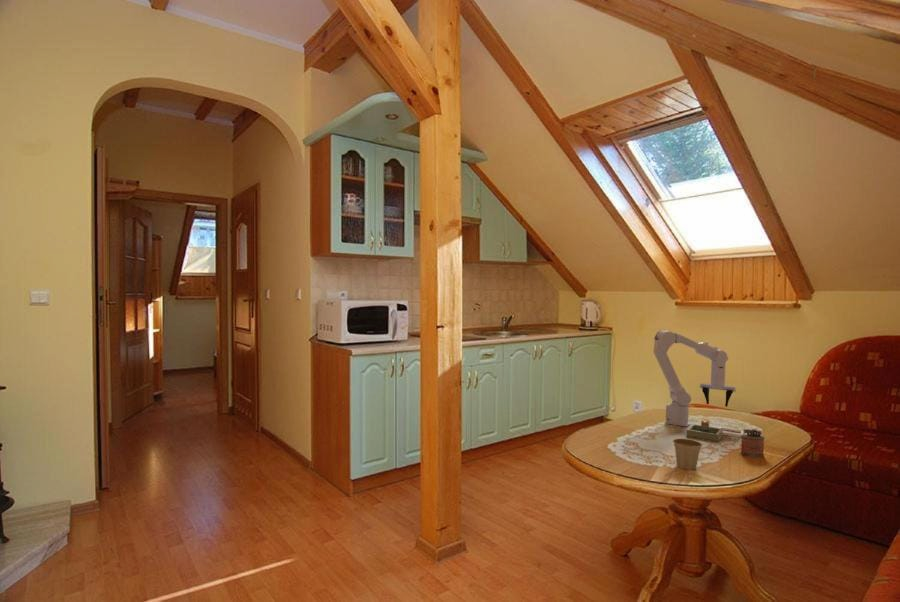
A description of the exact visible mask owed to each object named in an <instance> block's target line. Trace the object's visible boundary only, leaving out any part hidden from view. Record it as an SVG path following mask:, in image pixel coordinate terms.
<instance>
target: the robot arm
mask: <svg viewBox="0 0 900 602" xmlns="http://www.w3.org/2000/svg"><path fill="white" fill-rule="evenodd" d="M653 339H654V342H653V343H654V344H653V354H654V356H655V359H656V361H657V363H658V365H659V366H660V367H659V368H660V370H661V371H662V373H663V376H664V379H665V380H666V382H667V384H668V386H669V388H668V390H669V393H670V395H669V396H670V397H669V398H670V399H671V400H672V401H671V403H667V404H666V407H665V422H664V424H667V425H674V426H681V427H688V426H689V425H690V424H691V422H690V421H689V411H690V407H689V405H690V403H691V402H692V396H691V395H690V393H688V392H687V390H686V389H685V388H684V386H683V385H682V383H681V381H680V379H679V377H678V374H677V373H676V371H675V369H674V367H673V364H672V362H671V360H670V357H669V356H668V351H669V349H670V348H671V347H672V346H673V345H674V344H681V345H684V346H687V347H689V348H691V349H693V350H694V351H695V353H696V354H698V355H699V356H702V357H704V358H707V359H709V360H710V361H711V366H710V369H711V371H710V383H702V382H701V383H699V389H701V390H702V392H703V395H704V398H705V401H706V403H705V404H706V405H710V390H716V391H717V390H719V391H725V404H724V405H725V406H724V407H725V408H728V405H729V401H730V399H731V396H732V395H733V393H736V389H737V387H736V386H731V385H726V383H725V382H726V363H727V361H728V360H729V356H728V354H727V353H726V351H725V350H721V349H719V347H717V346H712V345H711V344H709V343H708V342H707V341H701V342H697V341H694V340H693V339H690V338H688V337H686V336H685V335H683V334H680V333H677V332H676V333H675V332H673V331H670V330H666V329H661V330H658V331H657V332H656V334H655V335H654V337H653Z"/></svg>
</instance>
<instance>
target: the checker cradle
mask: <svg viewBox="0 0 900 602" xmlns="http://www.w3.org/2000/svg"><path fill="white" fill-rule="evenodd" d="M718 428H720V429H723V436H727V435H728V436H729V437H734V438H740V439H742V437H741V435H745V433H744V432H743V431H744V429H738V428H731V427H725V426H718ZM727 430H729V431H727ZM733 431H734V432H733ZM732 432H733V433H732ZM739 432H740V433H739ZM737 433H739V434H737Z"/></svg>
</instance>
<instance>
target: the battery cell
mask: <svg viewBox="0 0 900 602" xmlns="http://www.w3.org/2000/svg"><path fill="white" fill-rule="evenodd" d="M700 425H701V432H707V433H709V427H710V421H709V420H707V419H701V420H700Z"/></svg>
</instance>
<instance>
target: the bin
mask: <svg viewBox="0 0 900 602" xmlns="http://www.w3.org/2000/svg"><path fill="white" fill-rule="evenodd" d="M723 432H724V430H723V429H720V428H719V427H712V426H709V433H707V432H701V424H695V423H694V424H693V423H692V424H691V425H690V426H689V427H688V428H686V436H687V438H691V437H692V438H691V439H697V438H698V440H702V439H704V440H703V441H708V440H710V441H709V442H715V443H719V442H720V440H721V439H722V437H723V436H724V435H723Z"/></svg>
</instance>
